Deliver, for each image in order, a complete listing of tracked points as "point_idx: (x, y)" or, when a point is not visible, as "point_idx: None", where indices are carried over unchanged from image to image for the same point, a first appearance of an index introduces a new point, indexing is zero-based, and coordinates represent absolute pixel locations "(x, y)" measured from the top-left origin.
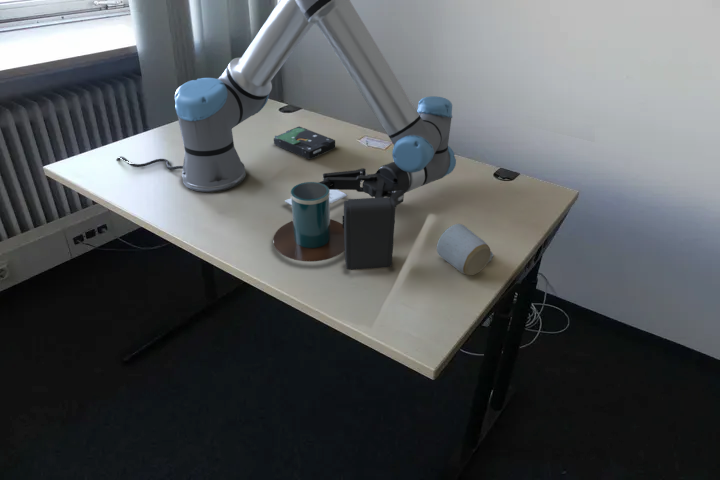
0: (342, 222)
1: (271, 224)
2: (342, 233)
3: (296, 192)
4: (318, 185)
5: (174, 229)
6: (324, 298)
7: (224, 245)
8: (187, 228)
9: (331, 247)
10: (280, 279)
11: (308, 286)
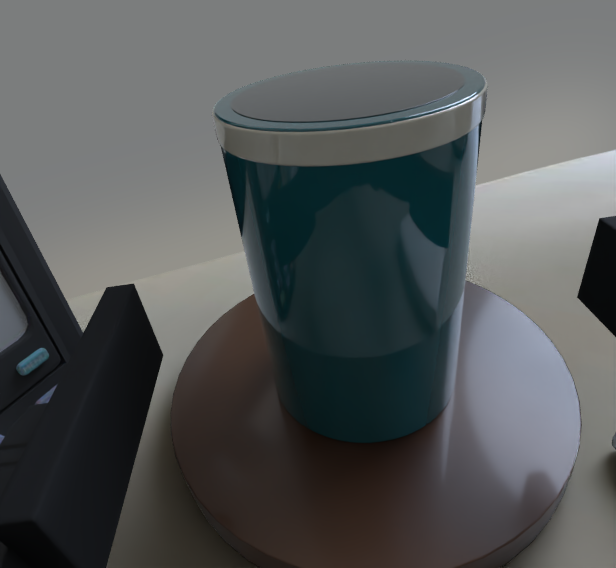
0: (150, 325)
1: (588, 314)
2: (311, 511)
3: (369, 67)
4: (390, 104)
5: (601, 161)
6: (80, 319)
7: (479, 212)
8: (602, 174)
9: (238, 403)
10: (243, 267)
11: (158, 305)
